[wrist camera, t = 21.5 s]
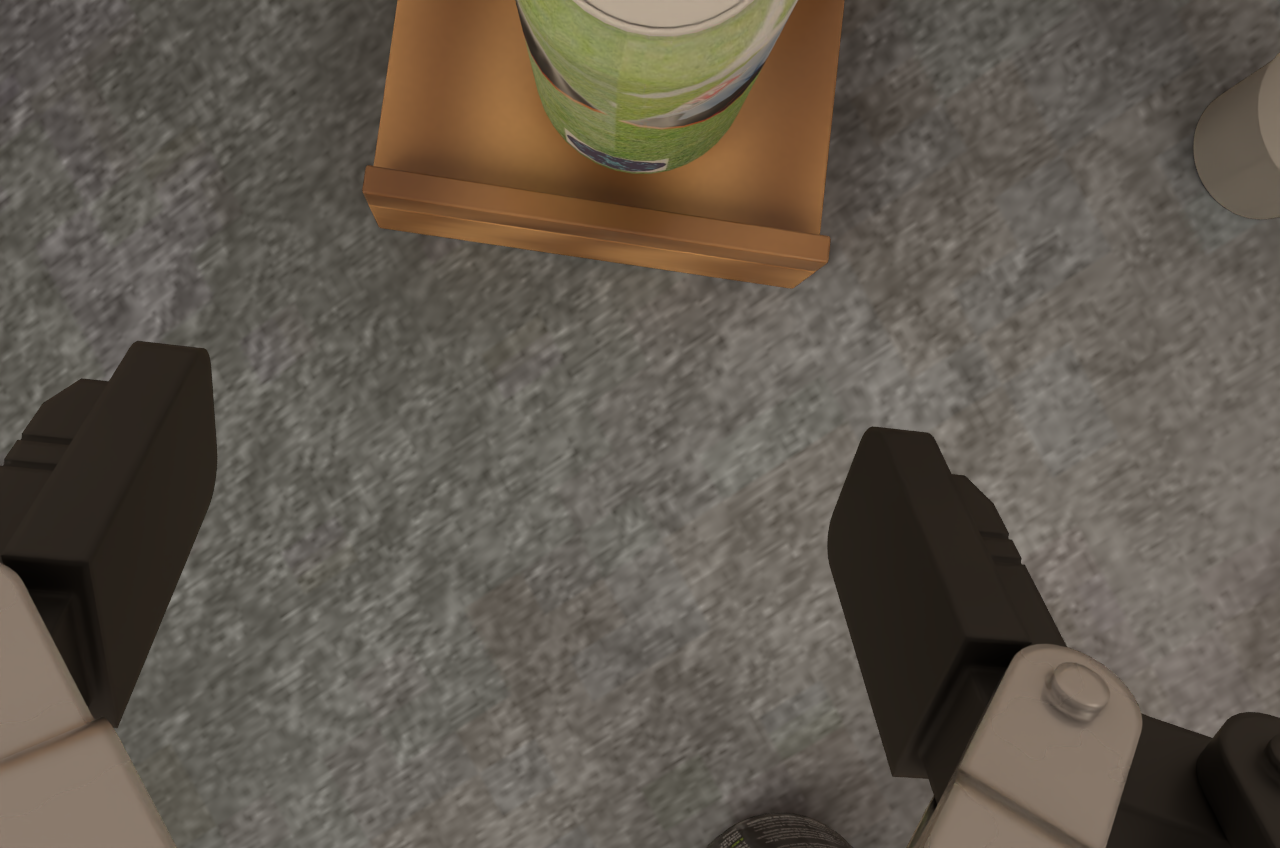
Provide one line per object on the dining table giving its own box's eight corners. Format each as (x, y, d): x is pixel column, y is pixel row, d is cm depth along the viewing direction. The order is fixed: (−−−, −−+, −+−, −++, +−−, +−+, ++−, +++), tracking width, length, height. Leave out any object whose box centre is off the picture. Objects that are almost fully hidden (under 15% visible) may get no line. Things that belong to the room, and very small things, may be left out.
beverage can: (770, 42, 31) (934, -242, 19) (666, 259, 30) (768, 104, 18) (580, -59, 30) (625, -415, 18) (468, 160, 29) (440, -67, 18)
